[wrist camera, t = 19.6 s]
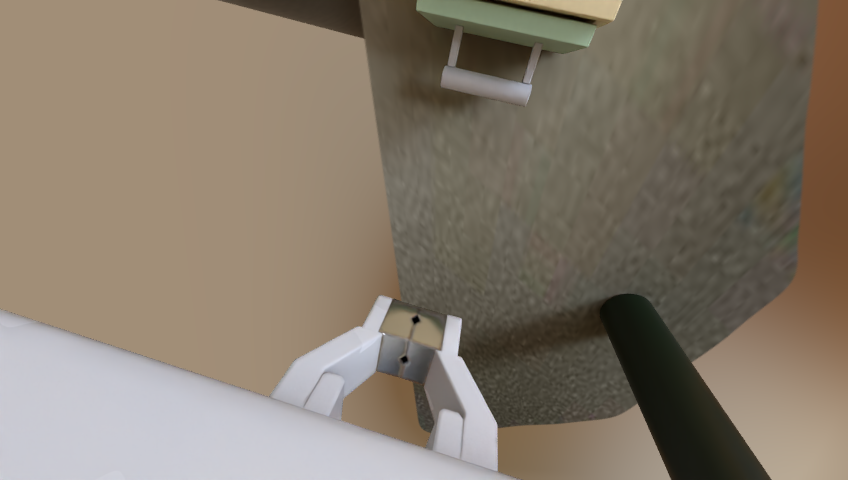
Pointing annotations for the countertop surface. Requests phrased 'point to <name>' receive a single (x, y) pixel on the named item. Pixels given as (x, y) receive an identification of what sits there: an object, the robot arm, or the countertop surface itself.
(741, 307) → the countertop surface
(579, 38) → the drawer
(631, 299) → the wine bottle
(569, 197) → the countertop surface
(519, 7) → the cabinet
